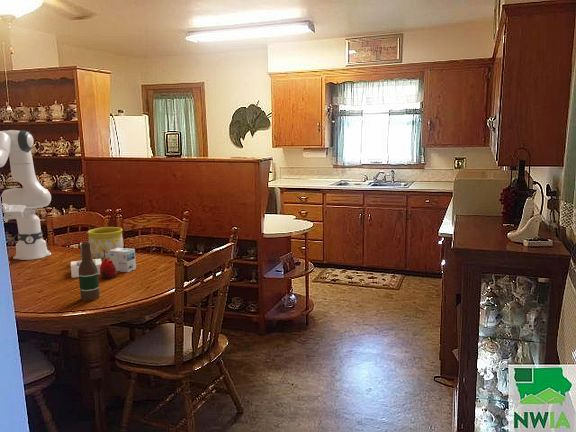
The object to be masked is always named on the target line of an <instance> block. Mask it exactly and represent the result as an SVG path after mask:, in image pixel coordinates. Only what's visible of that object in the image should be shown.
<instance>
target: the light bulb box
mask: <svg viewBox="0 0 576 432" xmlns="http://www.w3.org/2000/svg"><path fill="white" fill-rule="evenodd" d="M110 260H112V261H113V264H114V265H115V268H116V272H119V271H120V272H121V273H130V272H132V270H133V271H135V270H136V269H137V263H136V262H137V261H136V249H135V248H127V247H126V248H124V247H123V248H116V249H112V250H110Z"/></svg>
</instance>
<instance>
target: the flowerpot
mask: <svg viewBox="0 0 576 432" xmlns="http://www.w3.org/2000/svg"><path fill="white" fill-rule="evenodd" d="M122 232H123V228H122V227H116V226H106V227H105V226H104V227H96V228H92V229H89V230H87V234H88V235H87V236H88V242H90V250H91V256H93V259H101V262H103V260H104V259H105V257H106V259H107V260H110V250H112V249H116V248H124V238H123V233H122ZM103 249H104V250H105V251H107V252H108V253H106V252H105V255H106V256H105V257H104V252H103V251H104V250H103Z"/></svg>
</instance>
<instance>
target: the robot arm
mask: <svg viewBox="0 0 576 432" xmlns="http://www.w3.org/2000/svg"><path fill="white" fill-rule="evenodd" d="M34 144H35V140H34V137H33V135H32V133H31V132H30V131H27V130H16V129H9V130H0V168H2V167H4V166H5V165H6V164H7V161H8V158H9V164H10V165H9V166H10V174H11V178H12V179H13V180H14V181H15V182H18V183H19V184H21V185H22V187H15V188H9V189H5V190H4V191H3V192H2V193H1V194H0V195H1V196H0V198H1V197H2V201H1V204H2V205H3V213H4V221H5V222H4V223H8V222H9V220H16V224H17V225H16V226H17V230H18V233H17V238H18V241H17V242H16V244H15V250H16V251H15V252H16V254H15V255H14V256H12V257H13V259H14V260H22V261H25V260H26V261H29V260H37V259H42V258H46V257H48V256H49V257H50V256H51V255H52V253H51V251H50V250H48V247H47V241H46V240H44V238H43V231H42V229H41V228H42V227H41V226H42V225H41V219H40V217H39V216H38V215H37V214H36V212H37V209H38V208H39V209H40V208H43V207H44V208H45V207H48V206H49V205H50V204H51V201H52V194H51V193H50V191H49V190H48V189H47V188H45V187H44V186H42V184H41V183H40V182H39V180H38V178H37V175H36V172H35V167H34V161H33V154H32V151H31V150H32V149H33V148H34Z"/></svg>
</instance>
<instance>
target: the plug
mask: <svg viewBox="0 0 576 432" xmlns="http://www.w3.org/2000/svg"><path fill="white" fill-rule="evenodd" d="M81 243H82V242H79V247H80V255H81V256H80V257H81V258H80V259H81V260H82V246H81Z"/></svg>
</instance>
